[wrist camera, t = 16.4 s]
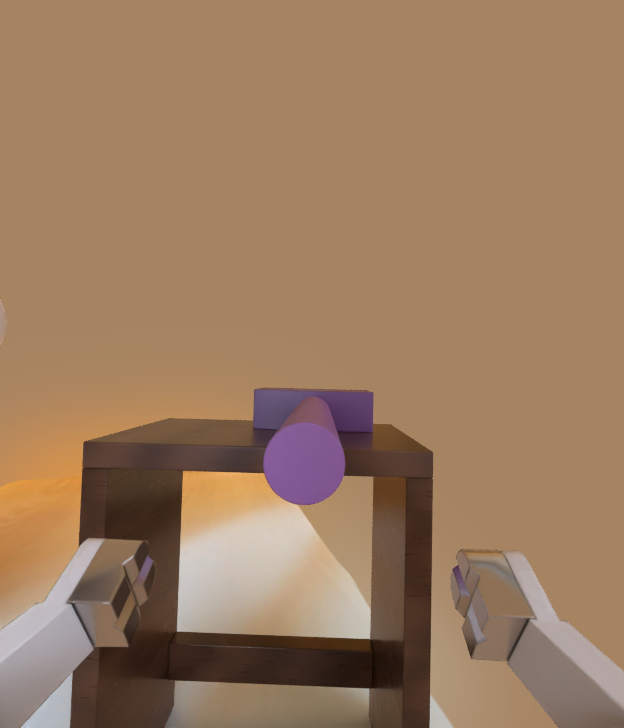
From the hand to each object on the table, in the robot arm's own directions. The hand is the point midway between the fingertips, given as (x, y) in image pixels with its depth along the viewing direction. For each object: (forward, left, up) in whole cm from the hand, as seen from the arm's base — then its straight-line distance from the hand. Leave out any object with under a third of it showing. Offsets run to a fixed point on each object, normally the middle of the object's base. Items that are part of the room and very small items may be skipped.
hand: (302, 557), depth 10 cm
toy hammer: (-9, +8, +1) cm, 12 cm away
